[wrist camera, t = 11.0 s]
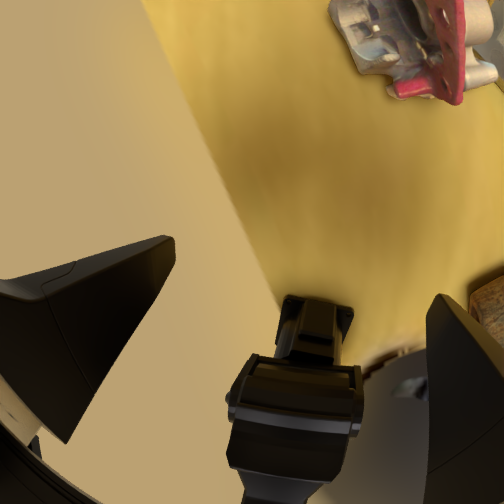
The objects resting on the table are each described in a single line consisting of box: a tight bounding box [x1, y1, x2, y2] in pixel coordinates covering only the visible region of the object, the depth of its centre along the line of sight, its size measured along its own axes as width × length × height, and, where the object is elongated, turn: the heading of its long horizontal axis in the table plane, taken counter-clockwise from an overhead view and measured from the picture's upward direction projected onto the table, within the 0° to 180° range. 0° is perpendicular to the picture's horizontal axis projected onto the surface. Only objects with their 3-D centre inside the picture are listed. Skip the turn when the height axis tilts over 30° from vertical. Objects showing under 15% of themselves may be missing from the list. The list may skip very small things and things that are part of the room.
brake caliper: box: [328, 0, 498, 106], centre depth 9 cm, size 11×11×12 cm
